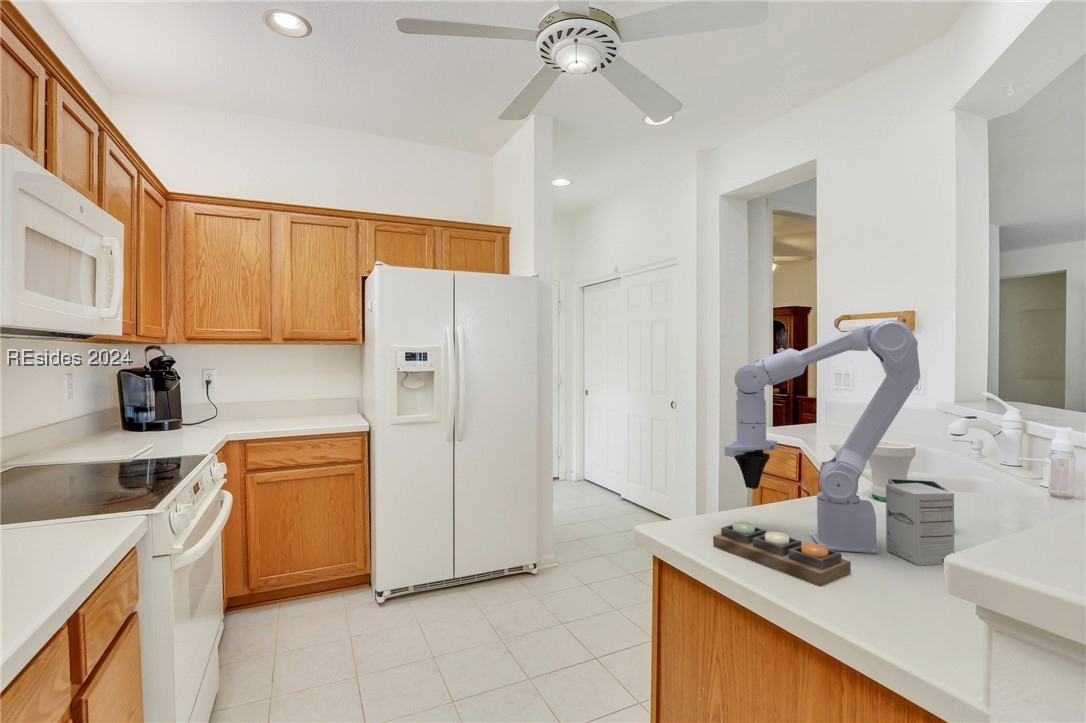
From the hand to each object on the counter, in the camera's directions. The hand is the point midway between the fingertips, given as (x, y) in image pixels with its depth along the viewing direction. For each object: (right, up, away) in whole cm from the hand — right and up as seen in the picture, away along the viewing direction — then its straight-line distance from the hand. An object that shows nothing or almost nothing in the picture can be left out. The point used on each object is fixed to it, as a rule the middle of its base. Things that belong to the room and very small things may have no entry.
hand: (751, 487), depth 106 cm
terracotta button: (+2, -7, -20) cm, 21 cm away
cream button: (-1, -7, -14) cm, 16 cm away
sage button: (-5, -7, -8) cm, 12 cm away
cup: (+45, -9, +24) cm, 52 cm away
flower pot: (+37, -9, +4) cm, 38 cm away
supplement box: (+24, -9, -14) cm, 30 cm away
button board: (-1, -9, -14) cm, 17 cm away
